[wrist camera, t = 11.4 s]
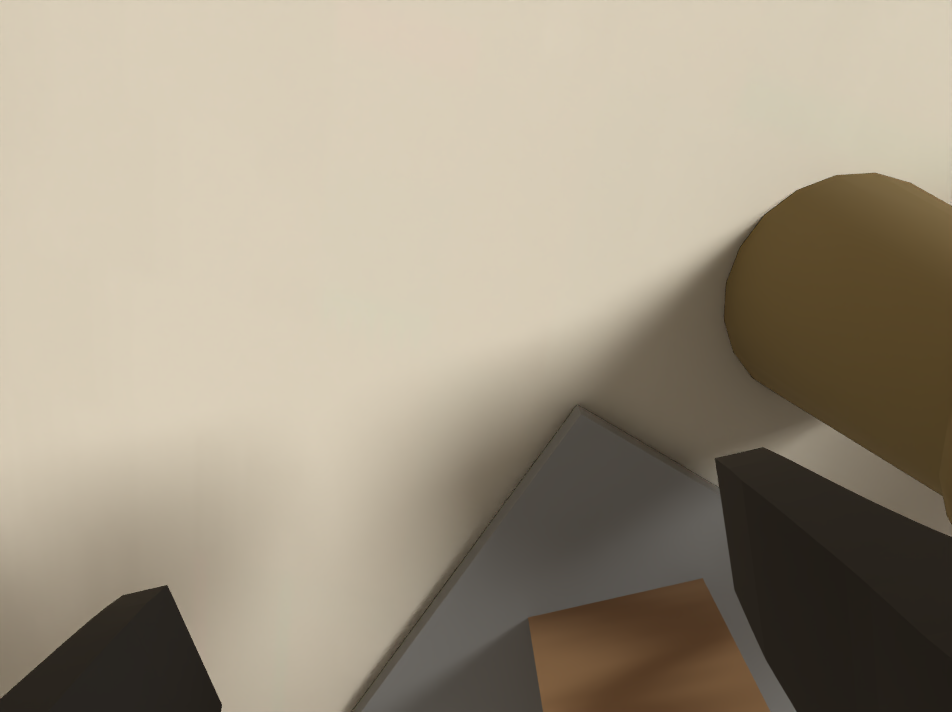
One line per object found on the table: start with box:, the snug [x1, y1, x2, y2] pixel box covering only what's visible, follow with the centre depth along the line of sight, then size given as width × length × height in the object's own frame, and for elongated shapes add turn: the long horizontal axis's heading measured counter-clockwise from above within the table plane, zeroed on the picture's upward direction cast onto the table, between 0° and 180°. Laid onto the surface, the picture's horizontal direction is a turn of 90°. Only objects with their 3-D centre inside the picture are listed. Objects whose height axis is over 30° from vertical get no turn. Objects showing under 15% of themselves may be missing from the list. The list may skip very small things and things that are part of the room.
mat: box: [352, 405, 796, 712], centre depth 24 cm, size 12×12×1 cm
